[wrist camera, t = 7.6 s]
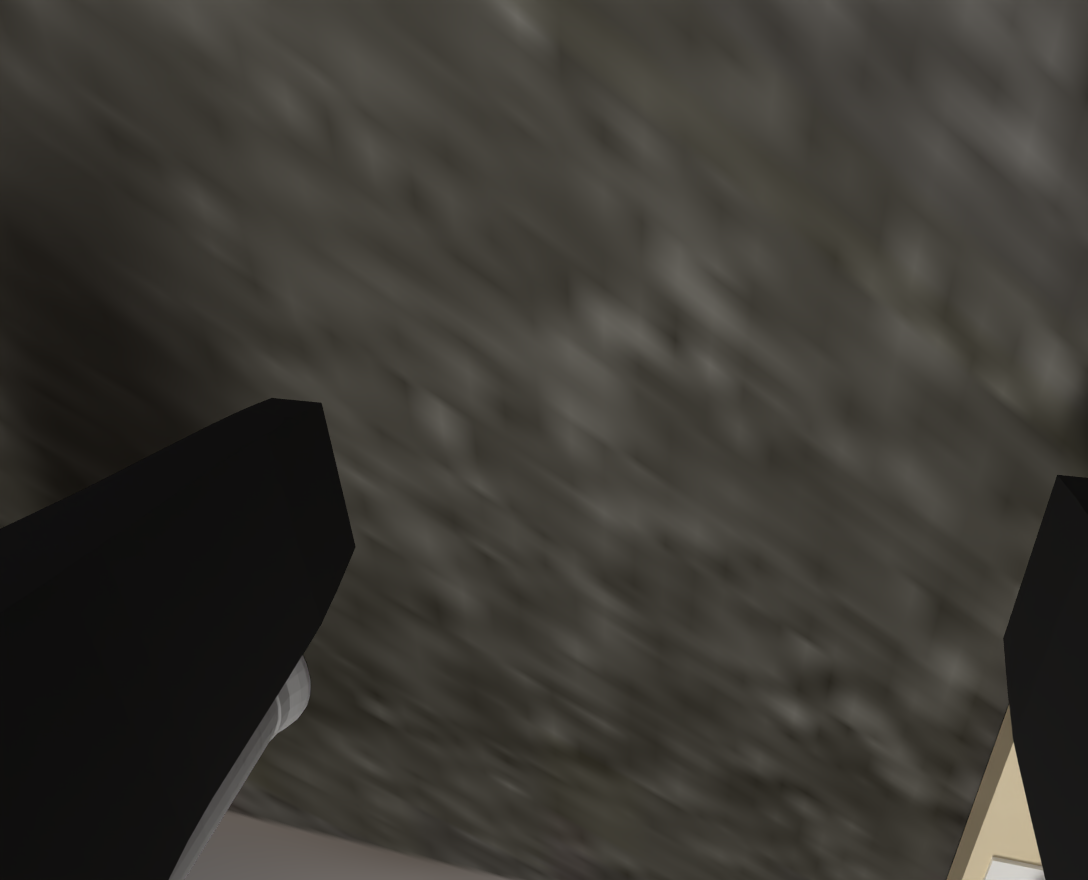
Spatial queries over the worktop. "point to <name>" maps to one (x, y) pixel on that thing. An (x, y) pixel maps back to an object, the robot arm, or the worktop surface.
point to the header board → (999, 823)
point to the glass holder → (247, 763)
